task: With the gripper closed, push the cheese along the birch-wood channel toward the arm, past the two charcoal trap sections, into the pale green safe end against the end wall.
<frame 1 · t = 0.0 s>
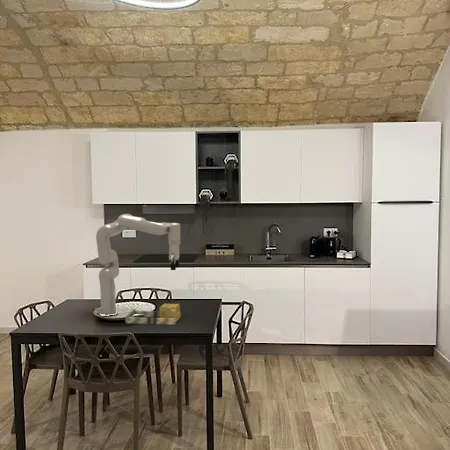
hand: (174, 268, 308), 31 cm above the table, tool pointing down, fingers open, 9 cm apart
track: (154, 320, 302), on the table
cheese: (169, 321, 301), on the table
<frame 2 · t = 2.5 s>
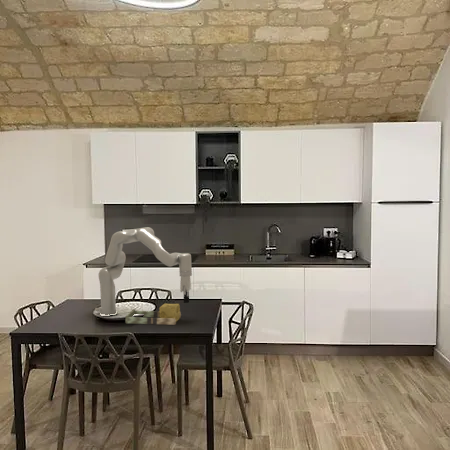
hand: (186, 302, 298), 12 cm above the table, tool pointing down, fingers closed
nothing on the table moved.
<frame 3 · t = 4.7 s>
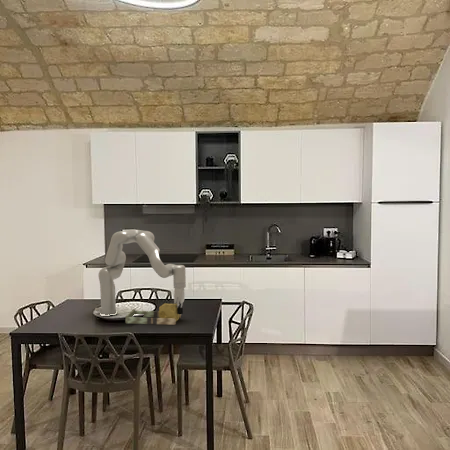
hand: (180, 313, 300), 5 cm above the table, tool pointing down, fingers closed
cheese: (169, 321, 301), on the table, touching gripper
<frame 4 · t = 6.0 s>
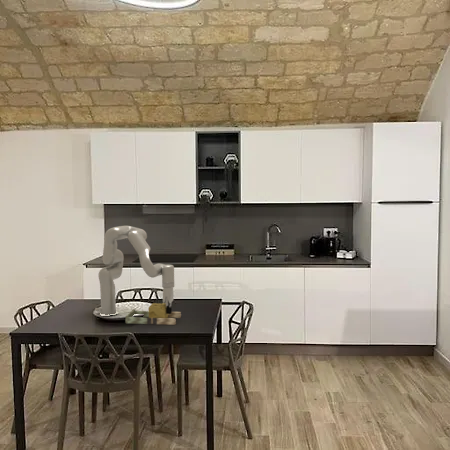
hand: (168, 313, 300), 5 cm above the table, tool pointing down, fingers closed
cheese: (158, 320, 301), on the table, touching gripper
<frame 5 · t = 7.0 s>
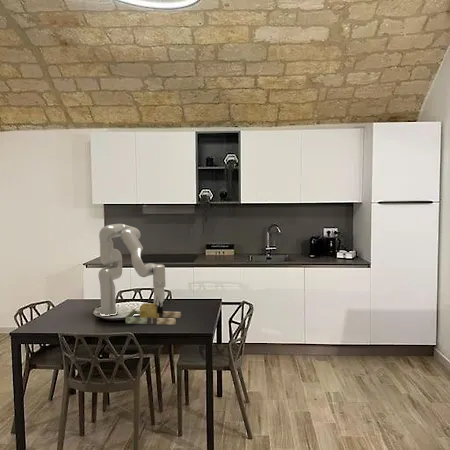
hand: (159, 313, 301), 5 cm above the table, tool pointing down, fingers closed
cheese: (149, 320, 302), on the table, touching gripper
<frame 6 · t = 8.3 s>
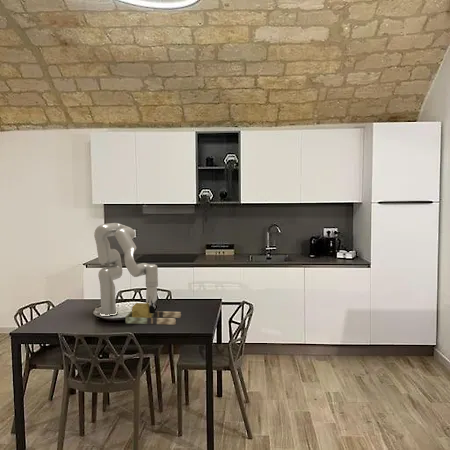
hand: (152, 312, 302), 5 cm above the table, tool pointing down, fingers closed
cheese: (141, 320, 303), on the table, touching gripper
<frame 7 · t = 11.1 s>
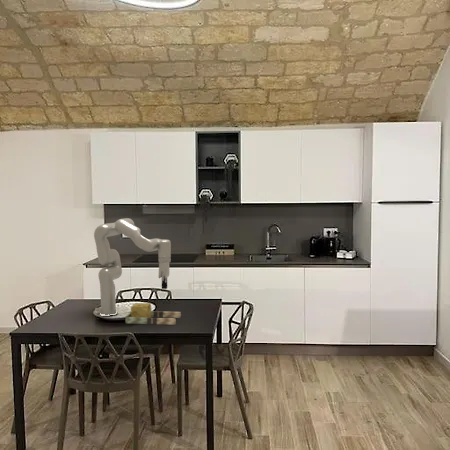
hand: (164, 288, 299), 20 cm above the table, tool pointing down, fingers closed
cheese: (141, 320, 303), on the table
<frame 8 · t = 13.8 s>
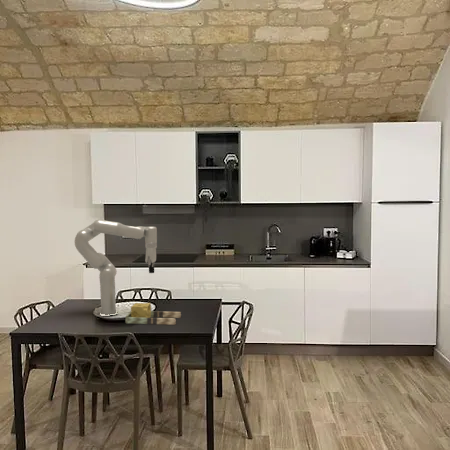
hand: (151, 272, 317), 27 cm above the table, tool pointing down, fingers closed
nothing on the table moved.
at the end: cheese inside the target area (2.0 cm from its centre), on the table; cheese tilted 0°; cheese moved 18.3 cm from its start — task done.
